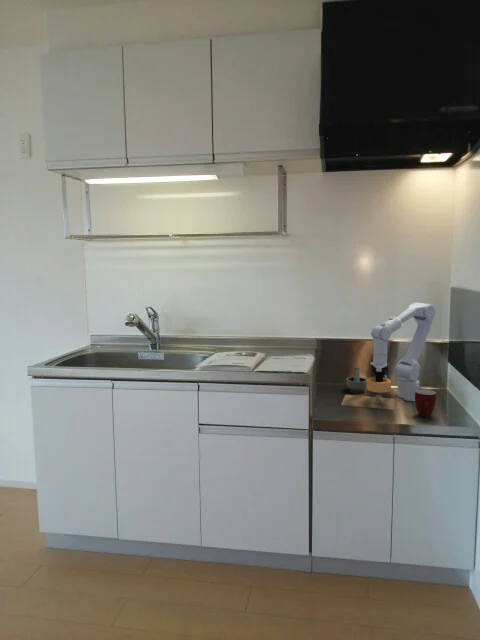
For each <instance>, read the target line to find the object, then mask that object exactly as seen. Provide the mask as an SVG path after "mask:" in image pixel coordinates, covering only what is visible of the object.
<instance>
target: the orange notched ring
mask: <svg viewBox="0 0 480 640" xmlns="http://www.w3.org/2000/svg"><path fill="white" fill-rule="evenodd" d="M366 379H367V383H366V389H365V390H367V391H369V392H372V393H381V394H382V393H389V392H391V391H392V380H391V379H389V378H386V377H383V382H376V378H375V376H372V377H368V378H366Z"/></svg>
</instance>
